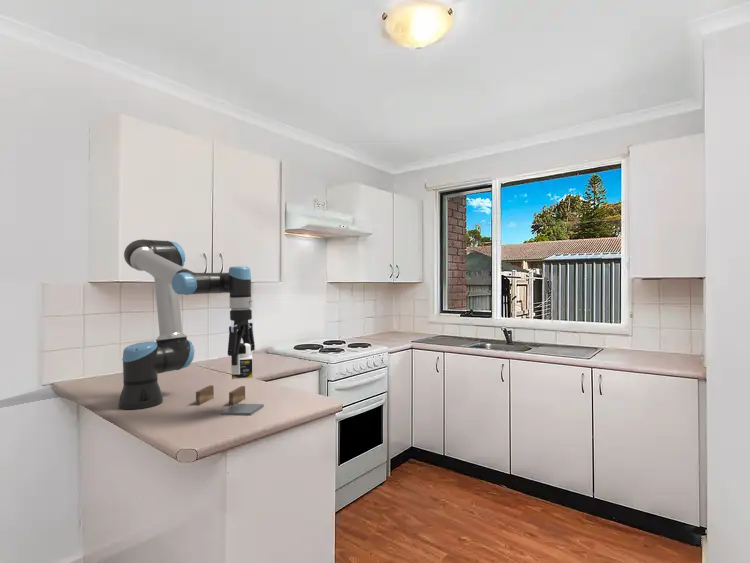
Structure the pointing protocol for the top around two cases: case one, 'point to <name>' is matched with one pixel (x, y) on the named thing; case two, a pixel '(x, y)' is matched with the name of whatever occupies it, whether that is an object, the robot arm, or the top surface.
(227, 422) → the top surface
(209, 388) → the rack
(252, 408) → the trivet
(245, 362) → the medicine bottle
